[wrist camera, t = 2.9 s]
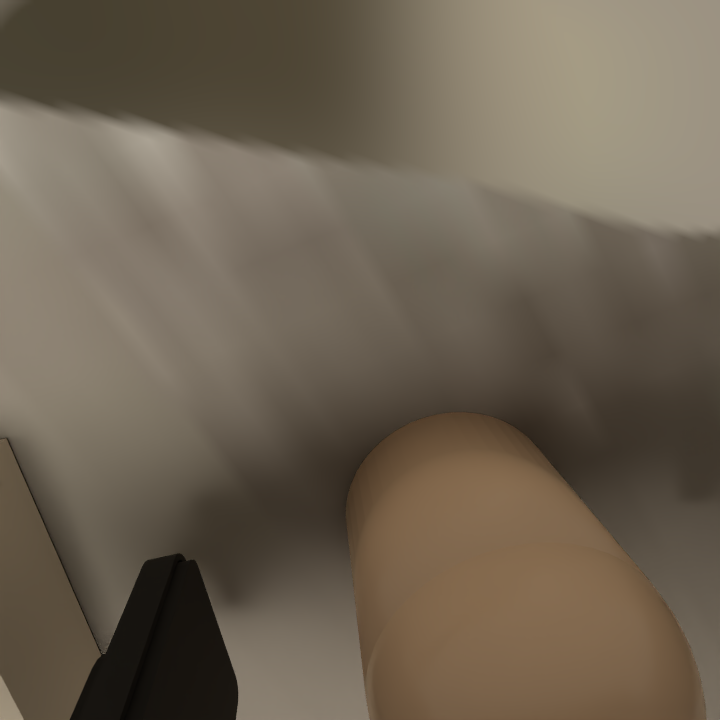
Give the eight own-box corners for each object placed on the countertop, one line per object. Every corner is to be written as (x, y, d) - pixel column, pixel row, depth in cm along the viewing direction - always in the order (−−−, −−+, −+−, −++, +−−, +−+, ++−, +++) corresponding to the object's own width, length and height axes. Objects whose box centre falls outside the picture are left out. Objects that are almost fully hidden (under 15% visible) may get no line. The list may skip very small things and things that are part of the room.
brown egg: (543, 391, 11) (821, 645, 5) (559, 571, 12) (791, 935, 6) (325, 437, 11) (348, 753, 5) (366, 613, 12) (422, 1024, 6)
